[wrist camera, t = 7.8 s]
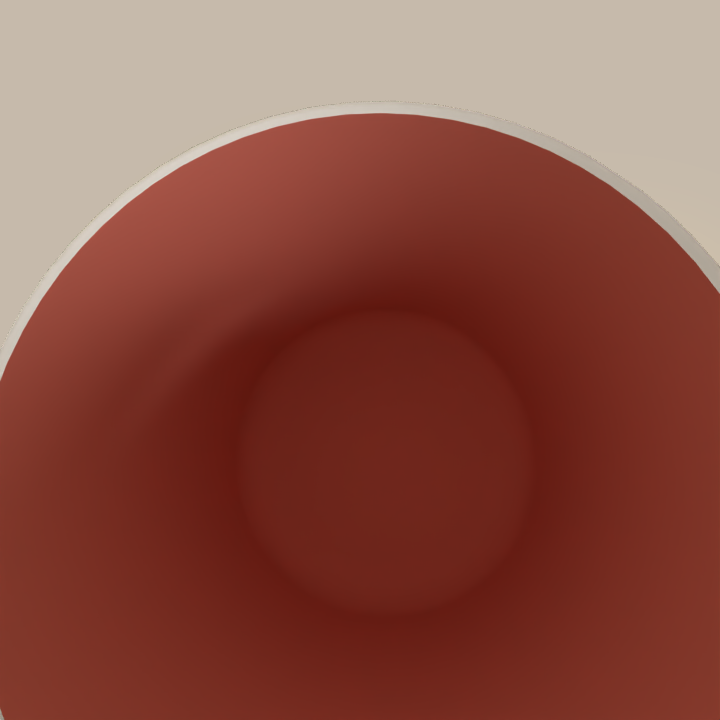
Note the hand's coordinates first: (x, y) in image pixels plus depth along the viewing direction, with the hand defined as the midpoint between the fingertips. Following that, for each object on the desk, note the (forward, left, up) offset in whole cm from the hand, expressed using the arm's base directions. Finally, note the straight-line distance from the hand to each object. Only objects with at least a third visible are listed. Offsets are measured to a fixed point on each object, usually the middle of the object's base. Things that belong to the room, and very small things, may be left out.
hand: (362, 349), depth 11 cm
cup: (-2, +2, -4) cm, 5 cm away
